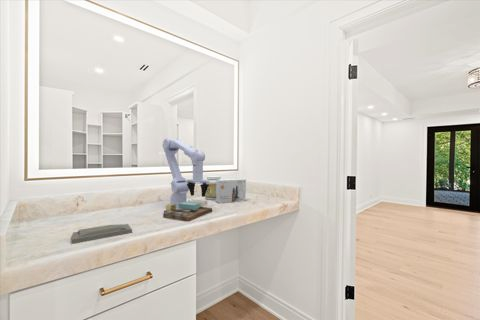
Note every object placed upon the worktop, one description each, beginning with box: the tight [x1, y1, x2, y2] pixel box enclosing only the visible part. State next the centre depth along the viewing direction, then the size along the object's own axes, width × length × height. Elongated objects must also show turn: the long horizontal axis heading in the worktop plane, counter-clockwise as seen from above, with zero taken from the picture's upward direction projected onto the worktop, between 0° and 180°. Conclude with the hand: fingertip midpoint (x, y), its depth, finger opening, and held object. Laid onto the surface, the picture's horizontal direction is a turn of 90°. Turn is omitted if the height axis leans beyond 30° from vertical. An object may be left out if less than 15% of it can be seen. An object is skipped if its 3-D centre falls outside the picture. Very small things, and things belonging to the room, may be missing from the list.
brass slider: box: [165, 203, 176, 212], centre depth 116 cm, size 3×4×4 cm
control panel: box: [162, 206, 213, 222], centre depth 120 cm, size 16×22×4 cm
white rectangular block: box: [187, 199, 208, 207], centre depth 128 cm, size 10×5×2 cm, turn 66°
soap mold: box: [71, 223, 133, 245], centre depth 89 cm, size 10×20×4 cm, turn 127°
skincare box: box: [215, 178, 247, 204], centre depth 156 cm, size 21×6×16 cm, turn 118°
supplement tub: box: [204, 175, 221, 201], centre depth 166 cm, size 12×12×17 cm
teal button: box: [179, 201, 199, 210], centre depth 120 cm, size 10×5×2 cm, turn 66°
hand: (197, 196), depth 128 cm, fingers open, 7 cm apart
